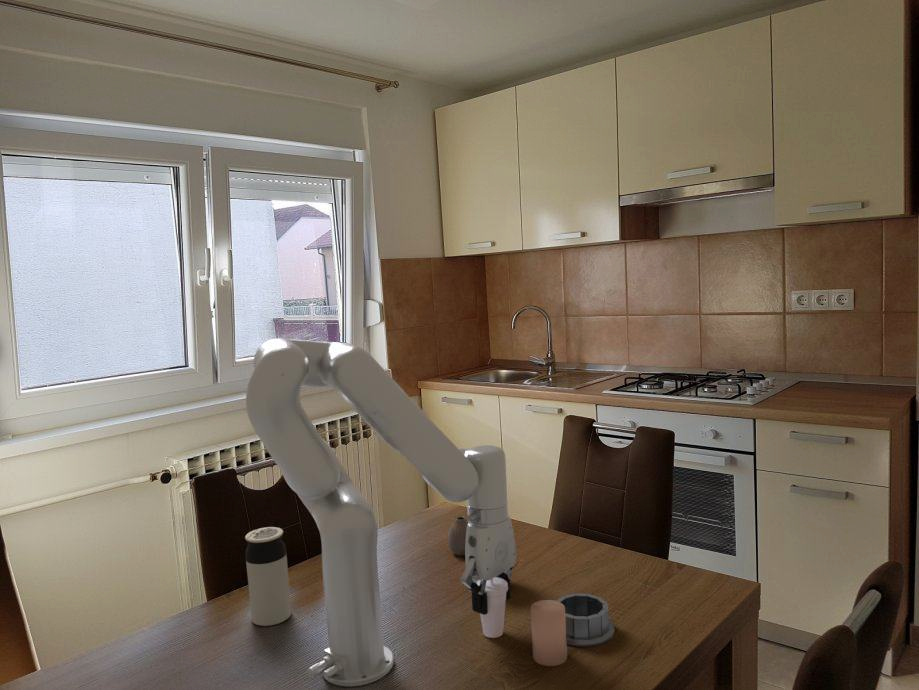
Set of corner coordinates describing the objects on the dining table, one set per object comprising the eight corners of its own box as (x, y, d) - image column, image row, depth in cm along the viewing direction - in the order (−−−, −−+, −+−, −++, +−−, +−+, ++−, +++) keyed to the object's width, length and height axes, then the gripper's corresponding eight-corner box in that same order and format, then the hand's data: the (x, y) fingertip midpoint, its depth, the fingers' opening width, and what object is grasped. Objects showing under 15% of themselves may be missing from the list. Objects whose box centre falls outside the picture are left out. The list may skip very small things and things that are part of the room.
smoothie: (482, 644, 129) (478, 570, 127) (472, 627, 135) (468, 557, 134) (514, 637, 130) (511, 565, 129) (503, 622, 137) (500, 552, 135)
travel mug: (298, 609, 147) (291, 527, 145) (279, 628, 139) (271, 541, 138) (265, 607, 149) (257, 525, 147) (244, 625, 142) (235, 539, 140)
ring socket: (594, 654, 124) (593, 628, 123) (537, 634, 131) (536, 610, 131) (626, 625, 133) (625, 601, 132) (571, 608, 140) (570, 585, 140)
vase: (445, 550, 174) (443, 515, 173) (471, 545, 176) (469, 511, 175) (453, 560, 168) (451, 525, 167) (480, 555, 170) (478, 520, 169)
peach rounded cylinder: (555, 670, 119) (552, 619, 119) (526, 659, 123) (523, 610, 122) (573, 654, 124) (571, 605, 123) (545, 644, 128) (542, 597, 127)
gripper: (473, 531, 121) (478, 629, 123) (530, 503, 135) (534, 592, 136) (441, 522, 126) (446, 617, 128) (499, 497, 139) (503, 583, 141)
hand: (491, 604), depth 132 cm, fingers closed on smoothie, 6 cm apart
